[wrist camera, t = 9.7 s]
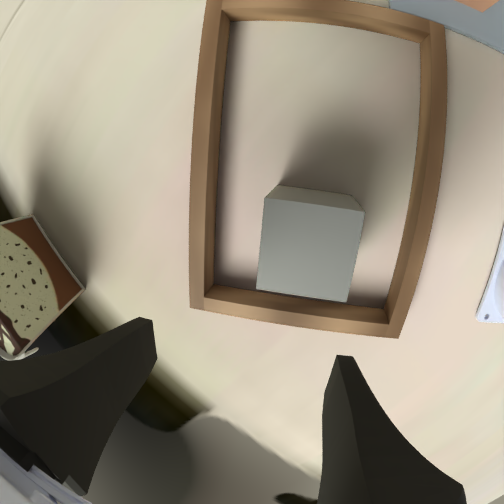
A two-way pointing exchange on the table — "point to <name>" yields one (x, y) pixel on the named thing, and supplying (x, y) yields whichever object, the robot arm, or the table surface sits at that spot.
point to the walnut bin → (207, 156)
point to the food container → (30, 285)
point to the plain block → (309, 242)
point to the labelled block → (478, 4)
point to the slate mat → (460, 18)
